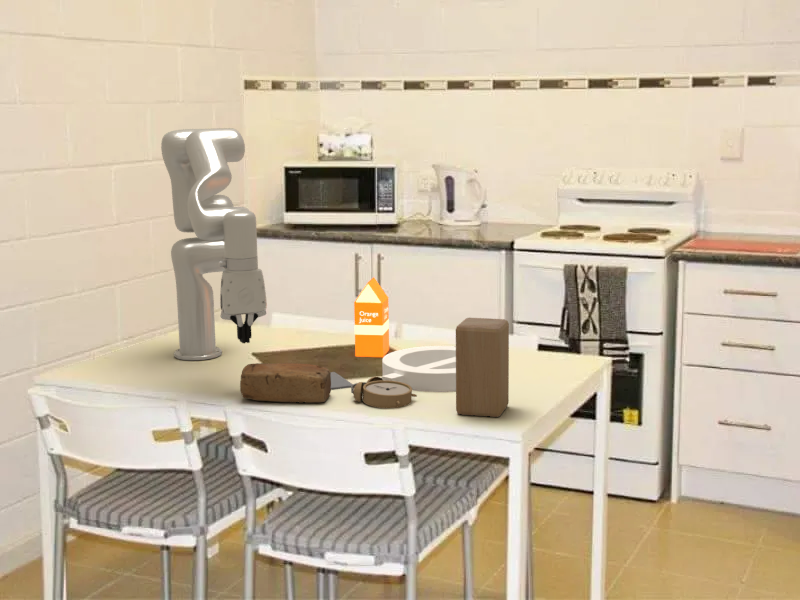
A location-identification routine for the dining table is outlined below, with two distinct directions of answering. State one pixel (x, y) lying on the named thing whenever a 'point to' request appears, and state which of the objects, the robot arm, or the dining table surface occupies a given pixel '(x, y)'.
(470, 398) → the wooden block
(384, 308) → the orange juice
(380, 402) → the alarm clock
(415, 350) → the white circle with bar
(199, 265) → the robot arm
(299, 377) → the block
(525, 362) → the dining table surface
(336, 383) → the mat
